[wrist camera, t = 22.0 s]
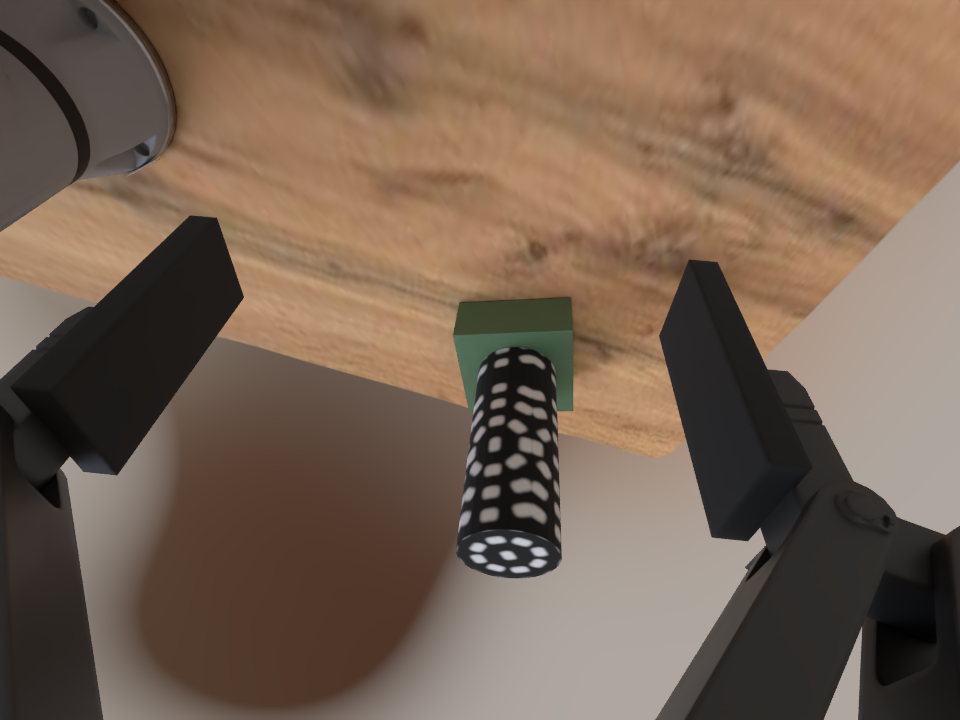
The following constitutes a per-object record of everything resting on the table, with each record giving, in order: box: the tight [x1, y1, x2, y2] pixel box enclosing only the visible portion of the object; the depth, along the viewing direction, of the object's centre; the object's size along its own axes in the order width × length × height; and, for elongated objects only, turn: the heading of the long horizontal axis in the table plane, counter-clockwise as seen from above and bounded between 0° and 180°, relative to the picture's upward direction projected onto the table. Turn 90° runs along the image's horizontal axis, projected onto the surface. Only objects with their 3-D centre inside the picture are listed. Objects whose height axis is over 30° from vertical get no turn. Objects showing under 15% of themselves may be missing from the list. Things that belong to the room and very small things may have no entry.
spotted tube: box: [456, 347, 562, 578], centre depth 47 cm, size 8×8×20 cm
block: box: [453, 297, 573, 413], centre depth 56 cm, size 12×12×6 cm
